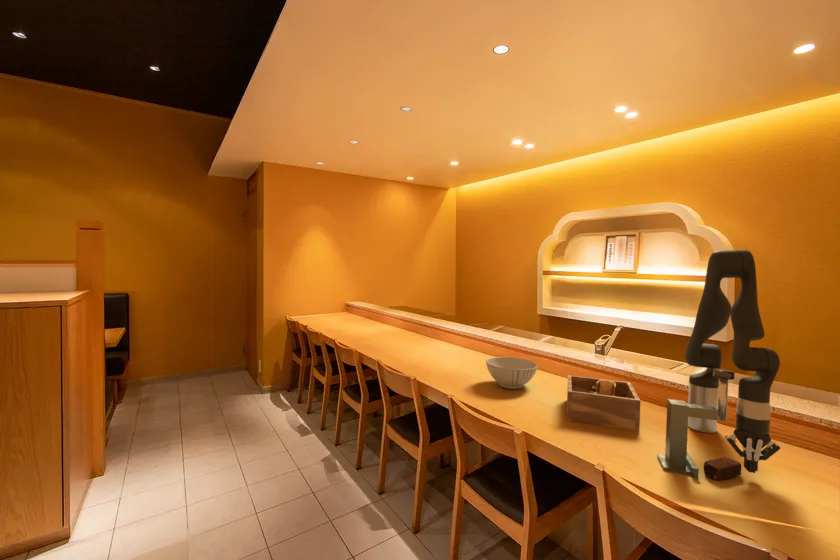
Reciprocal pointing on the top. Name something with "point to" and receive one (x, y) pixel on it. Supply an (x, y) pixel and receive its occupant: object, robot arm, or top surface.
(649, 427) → the top surface
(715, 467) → the brick
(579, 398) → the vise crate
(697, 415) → the press frame
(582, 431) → the top surface
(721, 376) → the ram
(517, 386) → the decorative bowl
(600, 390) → the armchair
